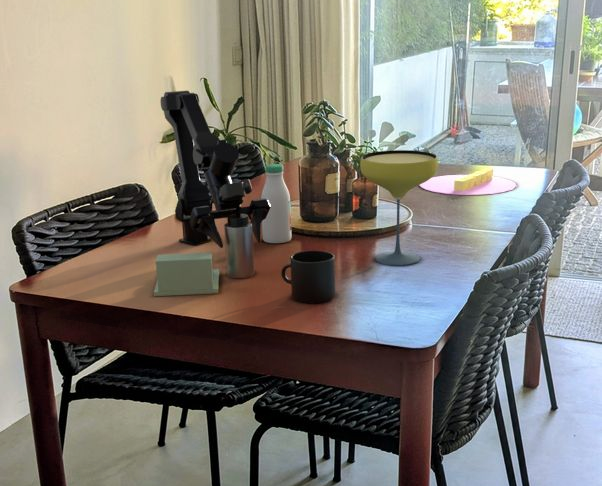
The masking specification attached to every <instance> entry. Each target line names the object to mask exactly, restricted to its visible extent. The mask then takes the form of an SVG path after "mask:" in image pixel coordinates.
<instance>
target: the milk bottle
mask: <svg viewBox="0 0 602 486" xmlns="http://www.w3.org/2000/svg"><path fill="white" fill-rule="evenodd" d="M283 174H284V165H283V164H280V163H271V164H267V165H265V175H266V180H265V184H264V185H263V188H262V191H261V196H260V197H261V198H260V199H264V198H265V199H267V200H268V201H269V203H270V206H271V208H270V210H269V212H268V215H267V217H266V219H264V220H263V221H262V222H261V233H262V240H263V242H265V243H268V244H283V243H288V242H290V241H291V240H292V212H291V211H292V210H291V208H292V207H291V195H290V191H289V189H288V187H287V185H286V183H285V179H284V176H283Z"/></svg>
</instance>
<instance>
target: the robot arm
mask: <svg viewBox="0 0 602 486" xmlns="http://www.w3.org/2000/svg"><path fill="white" fill-rule="evenodd" d="M159 103H160V107H161V110H162V111H163V114H164V118H165V120H166V122H168V124H169V125H170V126H171V128H172V129H173V135H174V141H175V147H176V153H177V158H178V165H179V170H180V176H181V186H180V189H179V191H178V195H177V196H178V200H177V202H176V206H175V210H174V214H175V218H176V220H177V221H179V222H180V223H181V226H182V227H181V228H182V238H179V239H178V242H180V243H184V244H189V245H192V246H195V245H201V244H203V243H208V242H210V241H213V242H214V243H215V244H216V245H217V246H218V247H219V248H220V249H223V247H224V243H223V239H222V237H221V235H220V232H219V229H218V227H217V224H216V220H221V219H227V216H228V215H231V214H247V215H248V220H250V221H249V222H250V223H252V233H253V237H254V238H255V241H256V242H257V243H260V242H261V233H262V221H263V220H264V219H266V217H267V215H268V212H269V210H270V208H271V206H270V203H269V201H268V200H267V199H265V198H264V199H261V198H256V199H251V201H250V203H249V205H248V206H241V205H242V204H243V203H244V198H245V197H246V196H247V195H249V194H251V193H252V191H253V188H252V184H251V181H250V179H249V178H244V179H241V180H240V181H239V182H233V181H232V178H231V175H233V173H234V170H235V168H236V165H237V163H238V159H239V156H240V153H239V149H237V147H236V146H235V145H233V144H231V143H229V142H227V140H226V139H221V138H220V137H218V136H216V135H215V134H214V133H213V132H212V131H211V129H210V126H209V124H208V121H207V119H206V117H205V115H204V112H203V110H202V106H201V105H200V97H199V95H198V94H197V93H195V92H191V91H189V90H175V91H174V90H173V91H165V92H164V94H163V96H161V97H160V102H159ZM199 169H206V170H205V172H204V182H203V181H202V180H201V178H200V172H199ZM213 206H214V208H215V210H213Z"/></svg>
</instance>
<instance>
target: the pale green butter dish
mask: <svg viewBox="0 0 602 486" xmlns="http://www.w3.org/2000/svg"><path fill="white" fill-rule="evenodd" d="M155 268H156V283H155V287H154V290H153V296H154V297H165V296H188V295H210V294H219V284H220V283H219V282H220V269H219V268H214V265H213V252H191V253H171V254H170V253H169V254H167V253H165V254H157V256H156V259H155Z"/></svg>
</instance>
